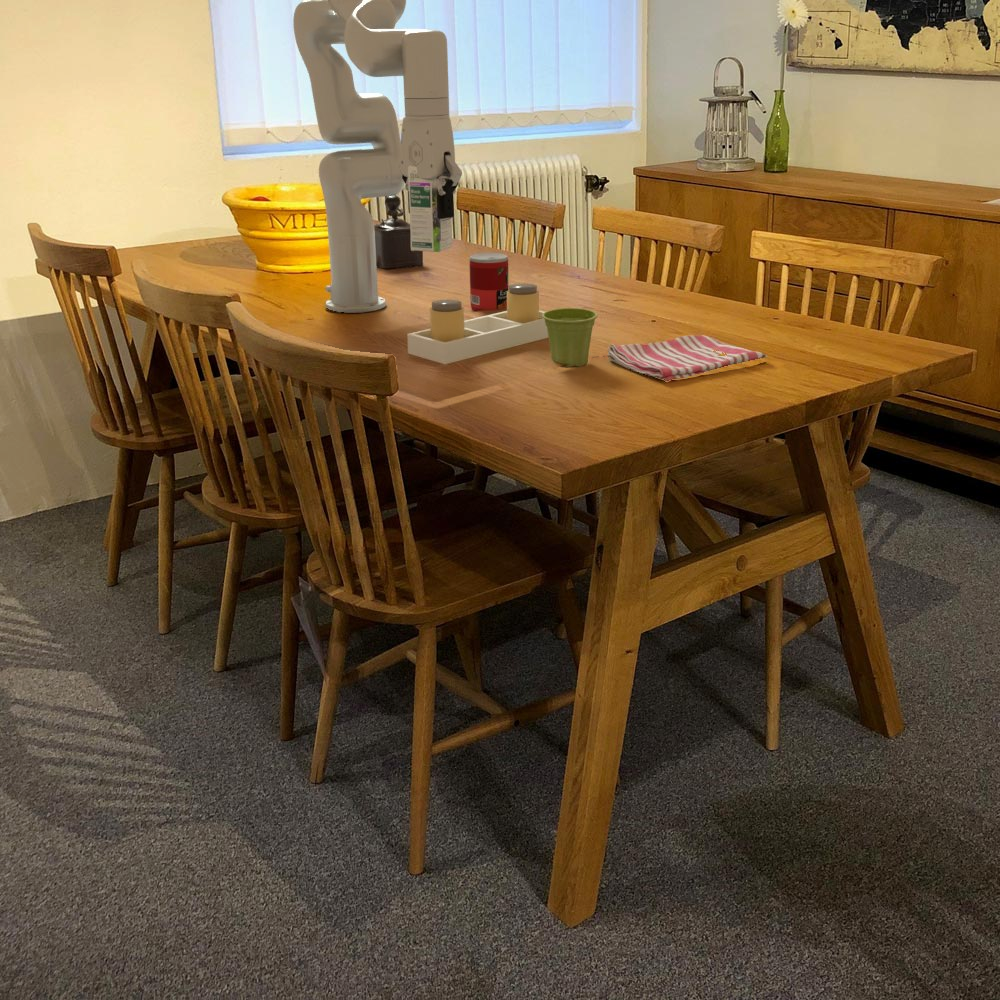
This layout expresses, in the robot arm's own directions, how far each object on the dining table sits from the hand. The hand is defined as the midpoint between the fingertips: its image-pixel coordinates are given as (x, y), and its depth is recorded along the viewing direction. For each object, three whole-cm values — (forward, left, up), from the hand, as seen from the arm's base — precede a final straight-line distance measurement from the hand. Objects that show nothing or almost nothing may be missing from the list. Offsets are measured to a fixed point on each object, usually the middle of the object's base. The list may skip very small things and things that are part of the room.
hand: (431, 214), depth 201 cm
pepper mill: (-66, +44, -24) cm, 83 cm away
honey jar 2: (+6, +16, -23) cm, 29 cm away
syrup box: (0, 0, -6) cm, 6 cm away
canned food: (-16, +28, -24) cm, 40 cm away
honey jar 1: (+6, -2, -23) cm, 24 cm away
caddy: (+6, +7, -24) cm, 26 cm away
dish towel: (+38, +25, -25) cm, 52 cm away
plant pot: (+24, +10, -24) cm, 36 cm away
